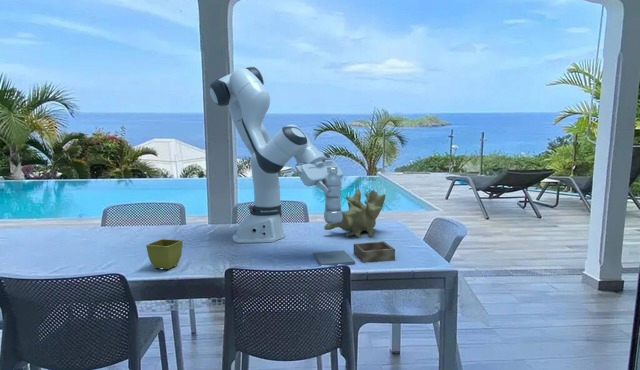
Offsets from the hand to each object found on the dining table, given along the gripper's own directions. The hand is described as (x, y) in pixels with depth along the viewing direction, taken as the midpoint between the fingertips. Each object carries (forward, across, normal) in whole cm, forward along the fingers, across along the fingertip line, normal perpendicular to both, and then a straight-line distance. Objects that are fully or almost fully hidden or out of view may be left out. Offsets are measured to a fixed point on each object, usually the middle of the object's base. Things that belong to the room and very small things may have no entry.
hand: (334, 190), depth 155 cm
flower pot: (-12, -40, +49) cm, 64 cm away
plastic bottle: (+8, 0, +9) cm, 12 cm away
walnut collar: (+25, +11, +11) cm, 29 cm away
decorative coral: (+8, +36, +28) cm, 46 cm away
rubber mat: (+17, 0, +18) cm, 25 cm away
